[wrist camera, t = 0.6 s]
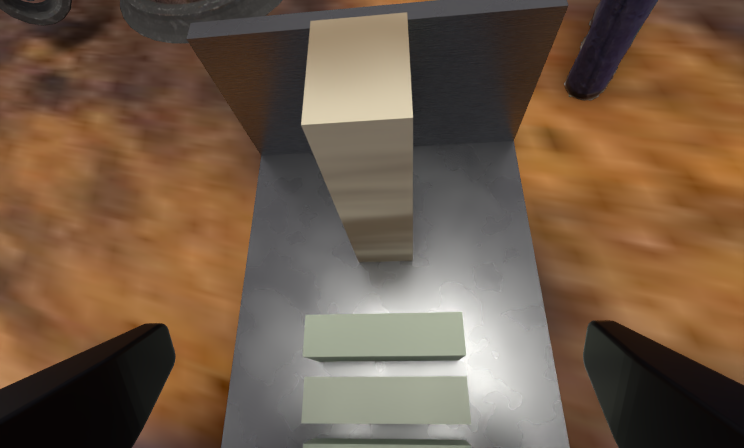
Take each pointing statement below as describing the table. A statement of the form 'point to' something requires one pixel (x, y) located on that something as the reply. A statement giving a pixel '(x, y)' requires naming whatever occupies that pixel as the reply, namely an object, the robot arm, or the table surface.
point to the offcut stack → (385, 394)
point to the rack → (430, 224)
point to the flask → (606, 45)
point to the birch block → (364, 128)
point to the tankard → (149, 14)
